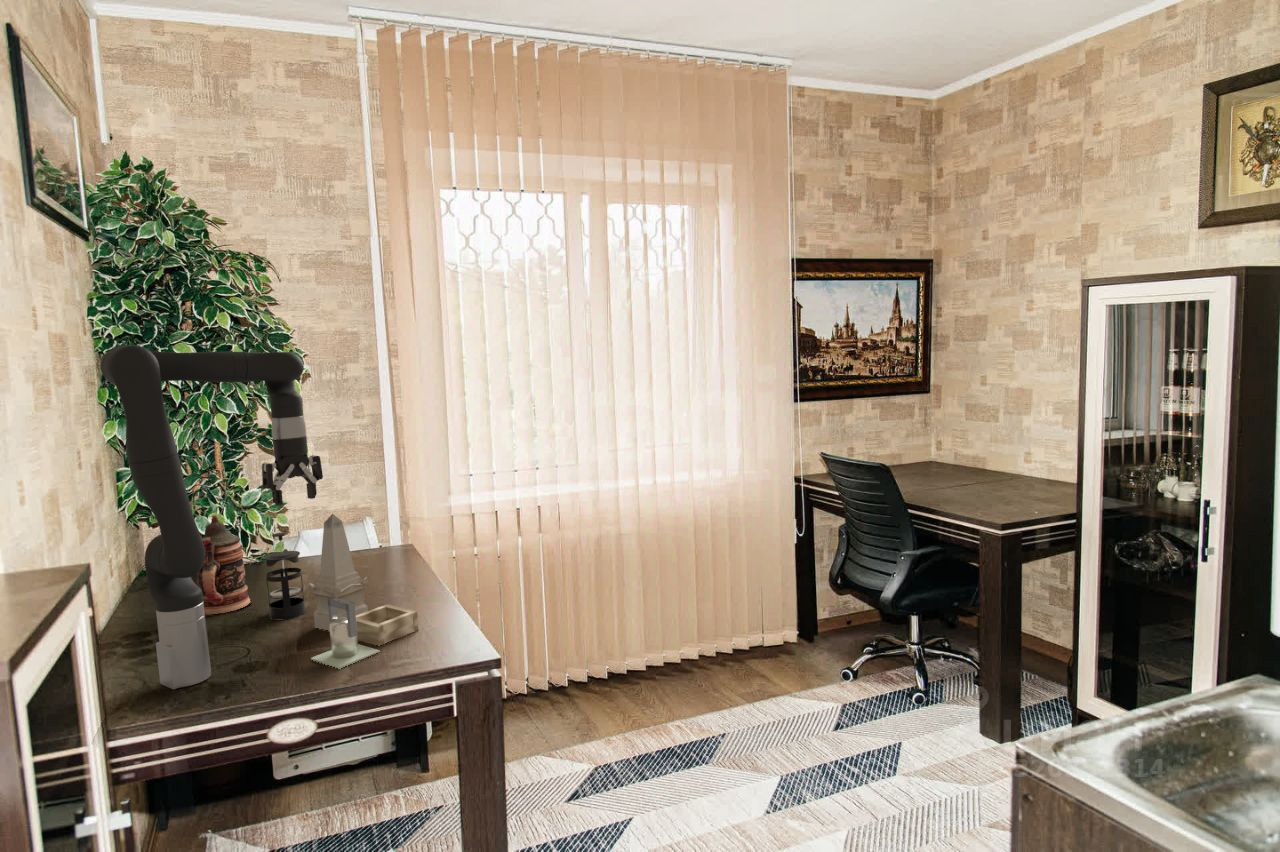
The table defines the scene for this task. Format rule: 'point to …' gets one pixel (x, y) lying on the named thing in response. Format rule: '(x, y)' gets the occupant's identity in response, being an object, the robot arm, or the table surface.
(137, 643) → the table surface
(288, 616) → the french press
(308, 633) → the table surface
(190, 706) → the table surface
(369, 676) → the table surface
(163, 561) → the robot arm
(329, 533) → the miniature monument
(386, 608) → the holder
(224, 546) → the beer stein
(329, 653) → the mat
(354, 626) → the pail
